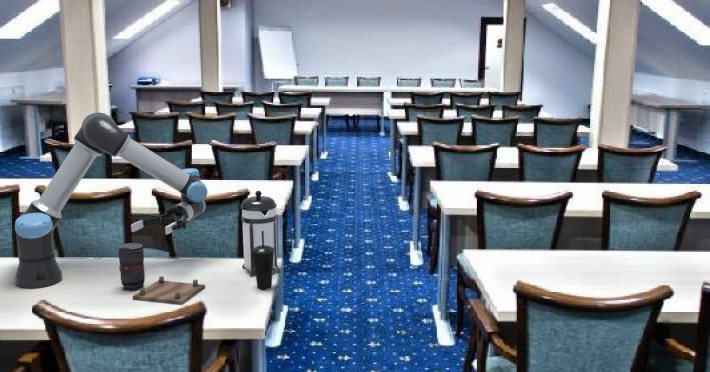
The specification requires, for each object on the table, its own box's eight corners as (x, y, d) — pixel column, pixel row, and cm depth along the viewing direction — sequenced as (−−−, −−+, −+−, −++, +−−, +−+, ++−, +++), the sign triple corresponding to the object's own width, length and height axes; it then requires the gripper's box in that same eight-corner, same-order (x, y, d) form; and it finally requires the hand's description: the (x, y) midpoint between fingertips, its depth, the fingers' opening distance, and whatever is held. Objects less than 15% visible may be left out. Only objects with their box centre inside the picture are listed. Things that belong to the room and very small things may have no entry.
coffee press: (290, 266, 270) (288, 187, 264) (267, 279, 256) (265, 196, 250) (251, 260, 278) (248, 183, 271) (226, 272, 263) (223, 192, 257)
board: (132, 299, 238) (131, 290, 237) (158, 283, 253) (157, 274, 252) (181, 304, 233) (181, 295, 232) (205, 288, 248) (204, 279, 247)
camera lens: (138, 292, 244) (135, 249, 241) (116, 290, 246) (113, 248, 243) (150, 284, 252) (147, 243, 249) (128, 282, 254) (125, 241, 250)
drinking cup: (279, 285, 251) (277, 229, 246) (269, 292, 244) (267, 235, 239) (259, 282, 253) (257, 227, 249) (249, 289, 246) (247, 233, 242)
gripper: (209, 226, 273) (181, 242, 253) (151, 222, 280) (119, 237, 260) (208, 206, 272) (180, 221, 252) (149, 203, 278) (117, 217, 258)
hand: (149, 229), depth 256 cm, fingers open, 13 cm apart
